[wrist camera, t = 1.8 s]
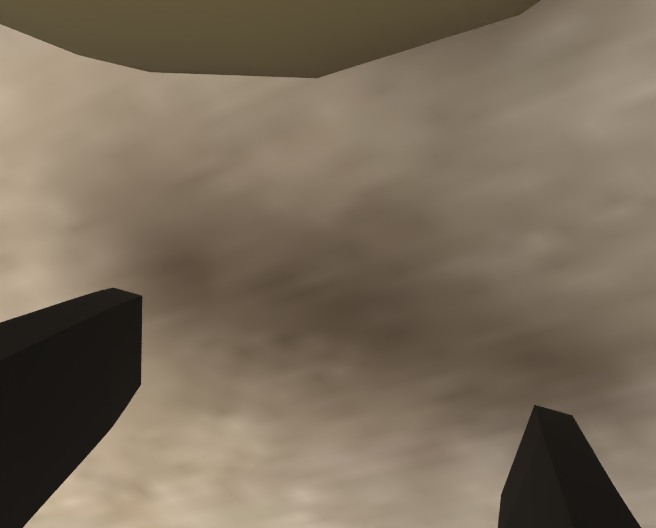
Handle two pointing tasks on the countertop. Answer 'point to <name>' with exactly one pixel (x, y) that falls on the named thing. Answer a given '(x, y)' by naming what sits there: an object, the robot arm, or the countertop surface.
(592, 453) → the robot arm
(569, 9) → the countertop surface
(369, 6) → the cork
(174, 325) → the countertop surface
